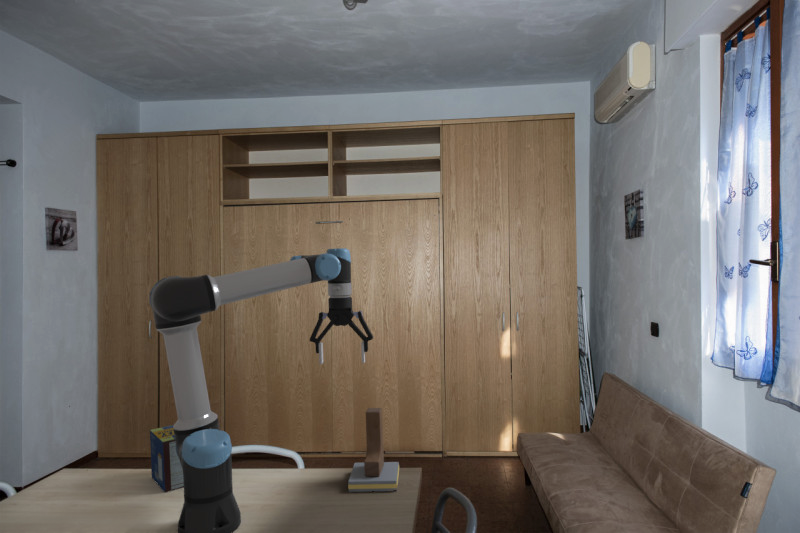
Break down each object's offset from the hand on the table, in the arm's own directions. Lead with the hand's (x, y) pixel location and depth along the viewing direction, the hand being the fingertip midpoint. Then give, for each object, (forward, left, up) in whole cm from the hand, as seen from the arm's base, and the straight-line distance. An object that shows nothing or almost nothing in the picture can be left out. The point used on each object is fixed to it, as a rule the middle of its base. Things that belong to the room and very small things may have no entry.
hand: (342, 362), depth 162 cm
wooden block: (+10, -8, -32) cm, 34 cm away
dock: (+10, -8, -35) cm, 37 cm away
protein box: (-54, -5, -35) cm, 64 cm away
